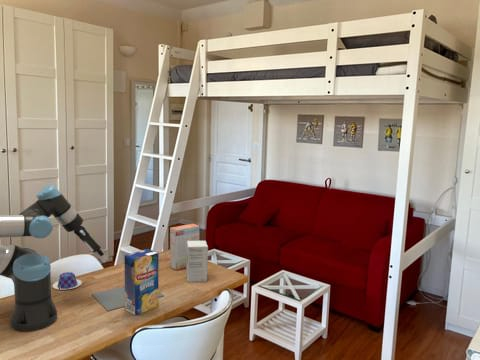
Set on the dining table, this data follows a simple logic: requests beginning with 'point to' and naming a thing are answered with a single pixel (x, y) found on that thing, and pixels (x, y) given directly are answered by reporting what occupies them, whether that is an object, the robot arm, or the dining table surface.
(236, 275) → the dining table surface
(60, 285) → the pudding
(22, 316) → the robot arm
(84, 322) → the dining table surface
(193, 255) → the supplement box
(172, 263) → the cracker box
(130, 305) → the beverage box
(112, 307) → the mat
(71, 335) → the dining table surface
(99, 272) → the dining table surface
